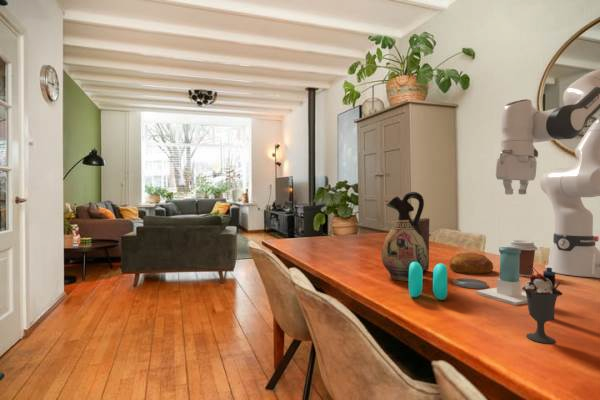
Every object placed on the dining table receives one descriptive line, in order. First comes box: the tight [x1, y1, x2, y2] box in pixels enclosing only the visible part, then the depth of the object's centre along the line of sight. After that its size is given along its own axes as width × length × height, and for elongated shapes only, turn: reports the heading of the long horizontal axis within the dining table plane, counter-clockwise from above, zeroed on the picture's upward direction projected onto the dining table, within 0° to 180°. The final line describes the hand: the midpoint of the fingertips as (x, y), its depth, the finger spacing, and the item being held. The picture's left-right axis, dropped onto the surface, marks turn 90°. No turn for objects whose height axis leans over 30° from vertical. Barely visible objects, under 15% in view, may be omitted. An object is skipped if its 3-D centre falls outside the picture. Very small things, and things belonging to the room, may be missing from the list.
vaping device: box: [542, 268, 556, 320], centre depth 86 cm, size 3×5×12 cm, turn 27°
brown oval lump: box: [448, 251, 494, 274], centre depth 137 cm, size 14×16×8 cm
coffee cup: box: [507, 239, 538, 278], centre depth 129 cm, size 9×9×12 cm
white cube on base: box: [475, 278, 528, 306], centre depth 102 cm, size 12×12×5 cm
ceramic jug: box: [381, 191, 428, 282], centre depth 123 cm, size 17×15×30 cm
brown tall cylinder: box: [411, 217, 430, 272], centre depth 135 cm, size 8×7×20 cm
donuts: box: [408, 262, 448, 301], centre depth 101 cm, size 10×10×10 cm
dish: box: [452, 277, 488, 290], centre depth 116 cm, size 10×10×1 cm
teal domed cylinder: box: [498, 246, 521, 282], centre depth 102 cm, size 5×5×9 cm
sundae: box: [522, 265, 563, 345], centre depth 73 cm, size 7×7×15 cm
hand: (515, 194), depth 115 cm, fingers open, 8 cm apart
